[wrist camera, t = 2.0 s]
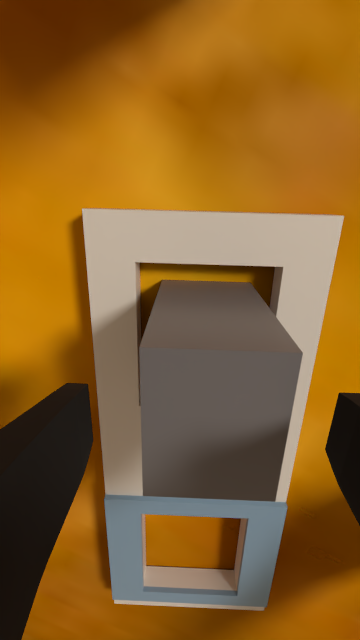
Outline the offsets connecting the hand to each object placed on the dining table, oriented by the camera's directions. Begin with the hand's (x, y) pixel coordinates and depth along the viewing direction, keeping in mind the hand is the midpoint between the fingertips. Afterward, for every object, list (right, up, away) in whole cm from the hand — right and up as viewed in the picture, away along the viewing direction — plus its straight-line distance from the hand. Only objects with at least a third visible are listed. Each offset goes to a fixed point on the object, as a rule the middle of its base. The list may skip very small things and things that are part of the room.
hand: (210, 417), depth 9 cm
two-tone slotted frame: (0, -4, +8) cm, 9 cm away
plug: (0, +2, +6) cm, 6 cm away
